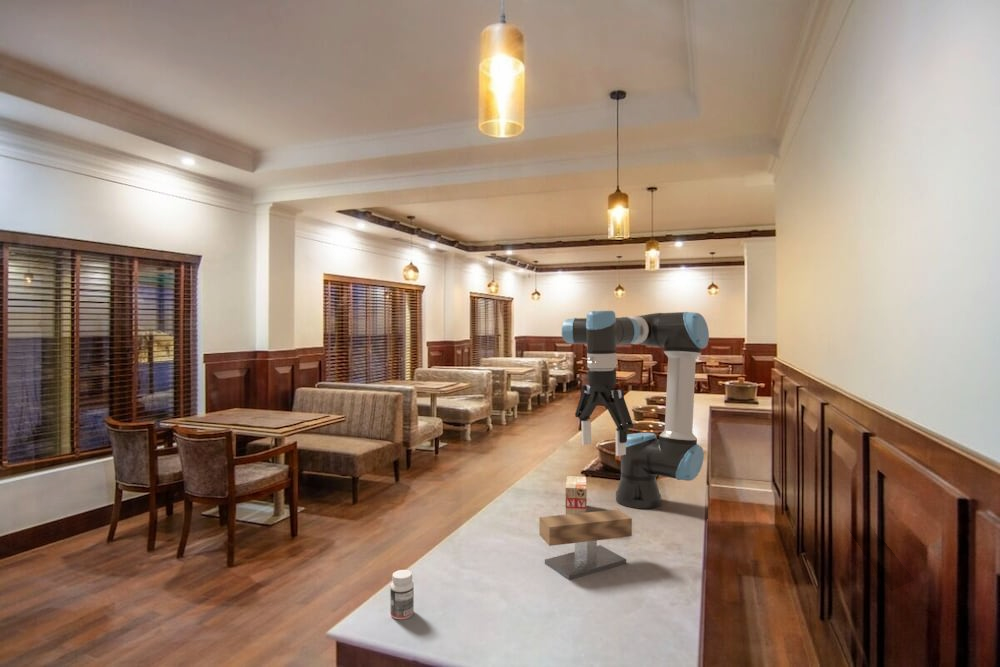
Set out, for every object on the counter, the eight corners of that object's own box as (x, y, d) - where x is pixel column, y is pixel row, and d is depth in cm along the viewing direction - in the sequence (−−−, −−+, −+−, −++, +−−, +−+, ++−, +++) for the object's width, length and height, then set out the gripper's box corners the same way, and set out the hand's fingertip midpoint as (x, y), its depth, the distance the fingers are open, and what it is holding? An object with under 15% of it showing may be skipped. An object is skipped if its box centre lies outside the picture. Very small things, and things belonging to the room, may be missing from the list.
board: (618, 526, 139) (618, 509, 139) (631, 536, 132) (631, 518, 132) (539, 535, 133) (539, 517, 133) (549, 545, 127) (549, 527, 126)
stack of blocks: (567, 504, 178) (567, 468, 178) (586, 505, 177) (586, 469, 177) (565, 528, 157) (565, 486, 157) (586, 529, 156) (586, 487, 156)
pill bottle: (391, 608, 111) (391, 568, 111) (414, 607, 112) (414, 568, 112) (389, 620, 107) (389, 579, 107) (412, 619, 107) (412, 578, 107)
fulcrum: (600, 548, 142) (600, 522, 142) (626, 563, 133) (626, 535, 133) (544, 563, 133) (544, 535, 133) (568, 579, 124) (568, 550, 124)
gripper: (561, 366, 148) (563, 442, 149) (624, 374, 126) (625, 462, 127) (583, 365, 152) (584, 438, 152) (647, 372, 130) (648, 457, 131)
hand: (603, 449), depth 140 cm, fingers open, 13 cm apart
